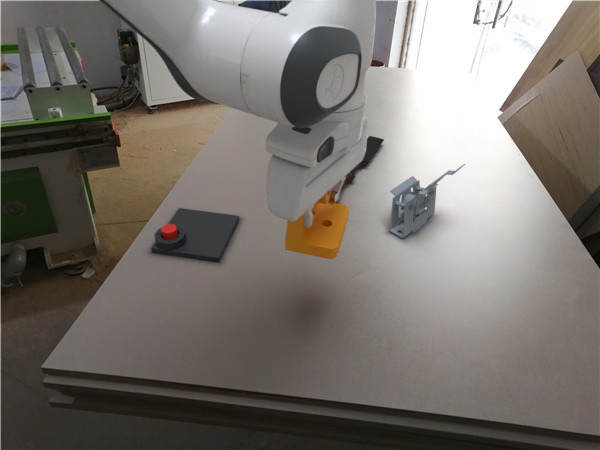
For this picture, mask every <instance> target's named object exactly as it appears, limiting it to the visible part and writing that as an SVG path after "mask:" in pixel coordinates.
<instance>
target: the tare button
mask: <svg viewBox="0 0 600 450" xmlns="http://www.w3.org/2000/svg"><path fill="white" fill-rule="evenodd" d="M160 228H161V232H162V236H163V238H164V239H167V240H170V239H174V238H176V237H177V236H178V232H177V227H176V226H175V225H174V224H168V223H167V224H164V225H162V226H161V227H160Z"/></svg>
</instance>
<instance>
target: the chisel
mask: <svg viewBox="0 0 600 450" xmlns="http://www.w3.org/2000/svg"><path fill="white" fill-rule="evenodd" d="M384 141H385V139H384V138H381V137H377V136H373V135H369V136H367V145H366V152H365V155H364V158H363V160H362V161H361V162H360V163H359V164H358V165H357V166H356V167H355V168H354V169H352V170H351V171H350V172H349V173H348V174H347V175H346V178H345V180H344V183H343V185H342V188H341V190H340V193H341V192H342V189H343V188H344V186H345V185H346V184H347V183H348V182H352V181H353V180H354V179H355V177H356V174H355V173H356V171H357V169H358V168H359V167H360V166H361V165H367V164H368V163H369V162H370V160H371V159H372V158H373V156H374V155H375V153H376V152H377V151H378V149H379V148H380V146H382V144H383V142H384ZM340 196H341V194H340V195H339V197H340ZM339 200H340V198H339V199H338V201H336V202H335V203H337V204H339Z"/></svg>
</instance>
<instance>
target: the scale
mask: <svg viewBox="0 0 600 450" xmlns="http://www.w3.org/2000/svg"><path fill="white" fill-rule="evenodd" d="M239 222H240V215H236V214H228V213H221V212H220V213H219V212H212V211H205V210H198V209H189V208H183V207H178V209H177V210H176V212H175V214H173V216H172V218H171V219H170V220H169V222H168V223H167V224H174V225H175V226H176V227H177V232H178V236H177V237H176V238H174V239H170V240H167V239H164V238H163V236H162V232H161V228H162V227H160V228H158V229H157V230H156V231H155V233H154V241H155V242H154V244H152V246H151V248H150V249H151V253H153V254H159V255H167V256H175V257H181V258H186V259H187V258H188V259H194V260H202V261H208V262H215V263H220V261H221V260H222V257H223V255H224V253H225V251H226V249H227V247H228V245H229V242H230V241H231V238H232V236H233V234H234V232H235V230H236V228H237V226H238V224H239Z"/></svg>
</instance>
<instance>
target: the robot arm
mask: <svg viewBox="0 0 600 450" xmlns="http://www.w3.org/2000/svg"><path fill="white" fill-rule="evenodd" d="M98 1H99V2H100V3H101V4H102V5H104V6H105V7H106V8H107V9H109V10H110V11H111V12H112V13H113V14H114V15H115V16H116V17H118V19H120V20H121V21H123V22H124V24H126V25H127V26H129V28H131V29H132V30H133V31H134V32H136V33H137V34H138V35H139V36H140V37H141V38H142V39H143V40H145V41H146V42H147V43H148V44H149V45H150V46H151V47H152V48H153V49H154V50H155V51H156V53H157V54H158V55H159V57H160V59H162V61H163V63H164V64H165V66H166V68H167V70H168V71H169V73H170V75H171V76H172V78H173V80H174V81H175V83H176V84H177V86H178V87H179V88H180V89H181V90H182V91H183V92H184V93H185V94H186V95H187V96H189V97H190V98H192V99H195V100H197V101H201V102H206V103H210V104H214V105H219V106H224V107H228V108H230V109H233V110H236V111H240V112H243V113H245V114H248V115H251V116H255V117H258V118H261V119H265V120H268V121H271V122H274V123H277V124H276V125H275V126H274V127H273V129H272V130H271V131H270V132H269V133H268V135H267V136H266V138H265V151H266V152H267V153H269V154H271V157H270V158H269V161H268V164H267V168H266V202H267V203H266V204H267V208H268V210H269V212H270V213H271V214H272V215H274V216H276V217H278V218H280V219H282V220H285V221H286V222H287V221H290V222H295V221H297V220H298V219H299V218H300V217H301V216H302V215H303V216H304V226H305V227H308V228H309V227H311V226H312V225H313V224H314V223H315V222H316V213H315V212H312V210H311V209H312V208H313V207H314V204H315V203H316V202H317V201H318V200H319V199H321V198H322V197H323V196H324V195H325V193H327V192H328V191H329V190H330V189H332V190H331V194H330V198H329V201H328V203H330V204H334V203H335V202H336V201H338V202H339V200H340V196H341V192H340V190H341V188H342V185H343V183H344V180H345V178H346V175H347V174H348V173H349V172H350V171H351V170H352V169H354V168H355V167H356V166H357V165H358V164H359V163H360V162H361V161H362V160H363V158H364V155H365V152H366V145H367V138H368V132H369V122H368V118H367V117H366V116H365V113H366V112H365V111H366V105H367V90H366V80H367V75H368V72H369V70H370V68H371V65H372V61H373V53H374V44H375V34H376V22H377V21H376V19H377V18H376V17H377V0H290V2H288V4H287V5H285V7H283V8H281V9H279V10H278V12H273V11H267V10H261V9H257V8H250V7H245V6H239V5H234V4H230V3H227V2H225V1H222V0H221V1H220V0H98ZM342 189H343V188H342ZM341 191H342V190H341ZM339 195H340V196H339ZM338 199H339V200H338Z"/></svg>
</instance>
